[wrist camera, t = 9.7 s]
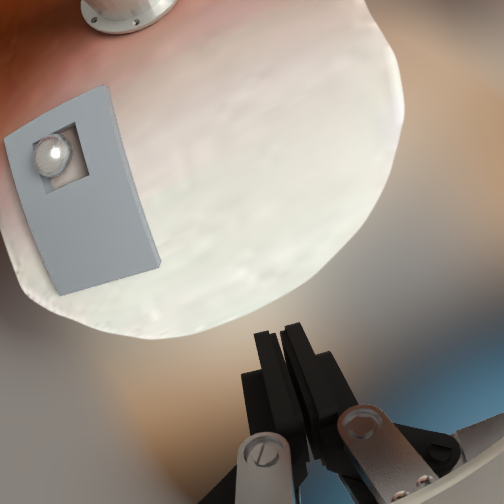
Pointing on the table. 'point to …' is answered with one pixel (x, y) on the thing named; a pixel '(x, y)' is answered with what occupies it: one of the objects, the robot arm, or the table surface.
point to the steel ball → (53, 155)
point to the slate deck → (83, 199)
